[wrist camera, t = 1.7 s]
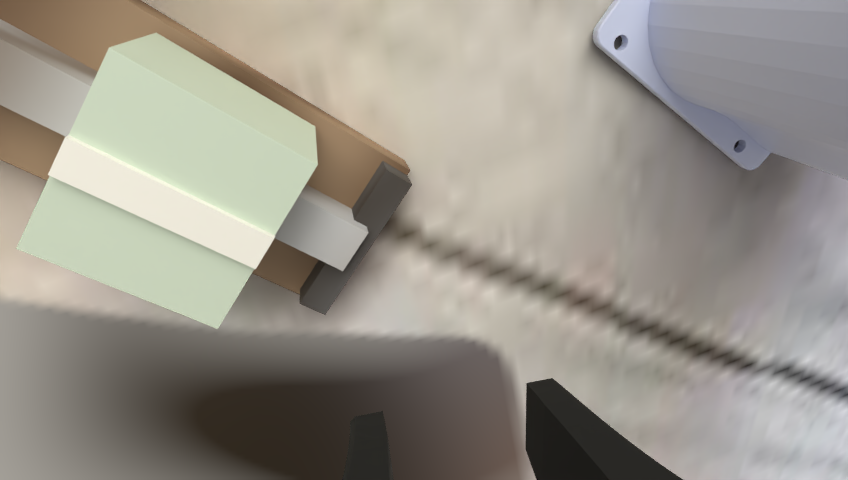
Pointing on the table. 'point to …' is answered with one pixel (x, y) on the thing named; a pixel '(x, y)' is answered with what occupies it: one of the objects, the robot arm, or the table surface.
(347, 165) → the rail
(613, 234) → the table surface
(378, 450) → the robot arm
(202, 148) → the carriage
